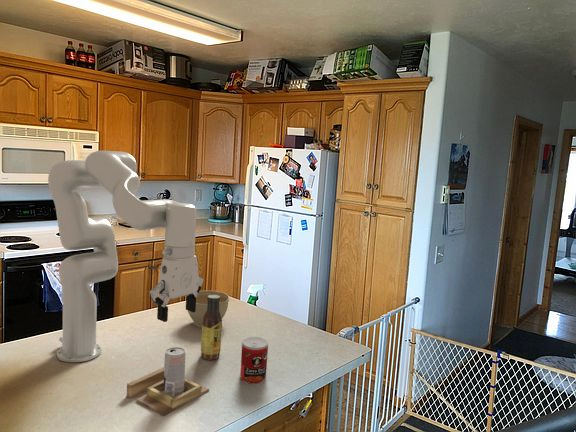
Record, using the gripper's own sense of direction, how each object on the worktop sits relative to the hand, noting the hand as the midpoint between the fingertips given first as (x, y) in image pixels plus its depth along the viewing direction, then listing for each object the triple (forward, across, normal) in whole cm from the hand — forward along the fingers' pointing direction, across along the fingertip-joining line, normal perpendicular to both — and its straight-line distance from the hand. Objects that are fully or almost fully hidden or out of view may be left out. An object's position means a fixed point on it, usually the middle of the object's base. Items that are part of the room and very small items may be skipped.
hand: (176, 315), depth 118 cm
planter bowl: (+23, +43, +29) cm, 57 cm away
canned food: (+22, +22, -10) cm, 33 cm away
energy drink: (+22, 0, 0) cm, 22 cm away
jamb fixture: (+22, 0, +2) cm, 22 cm away
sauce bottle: (+23, +24, +9) cm, 34 cm away
